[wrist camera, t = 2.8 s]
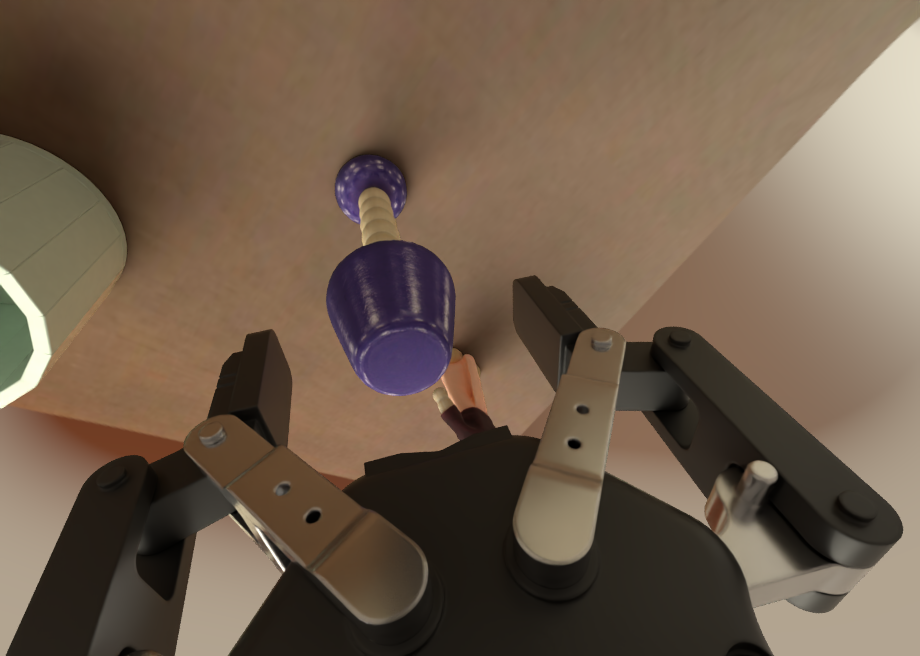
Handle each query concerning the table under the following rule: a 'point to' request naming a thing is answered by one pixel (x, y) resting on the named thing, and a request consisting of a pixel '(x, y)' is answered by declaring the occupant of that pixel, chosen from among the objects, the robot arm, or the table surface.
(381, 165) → the toy lamp
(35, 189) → the glazed cup
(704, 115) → the table surface
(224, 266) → the table surface
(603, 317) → the table surface
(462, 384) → the grandmother figurine
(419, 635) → the robot arm
